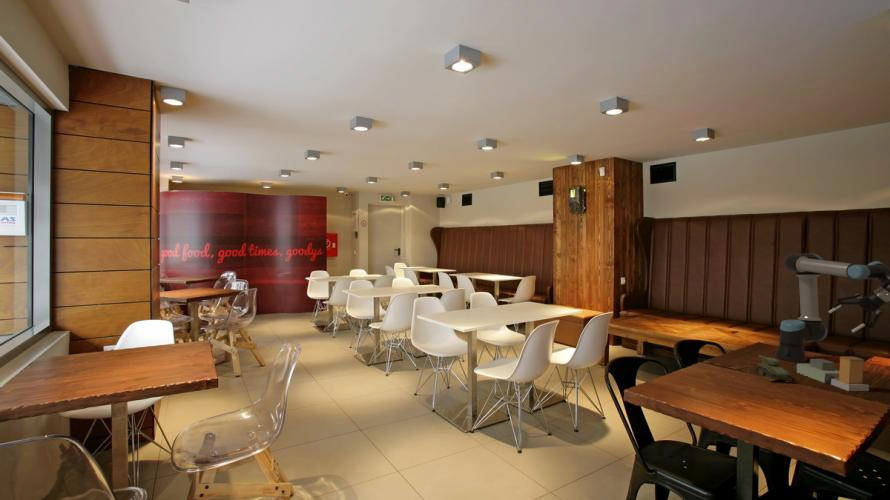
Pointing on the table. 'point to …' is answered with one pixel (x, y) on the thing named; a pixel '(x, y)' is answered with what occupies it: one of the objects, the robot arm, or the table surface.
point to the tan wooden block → (851, 370)
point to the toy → (772, 369)
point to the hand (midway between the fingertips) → (840, 322)
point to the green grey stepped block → (827, 374)
